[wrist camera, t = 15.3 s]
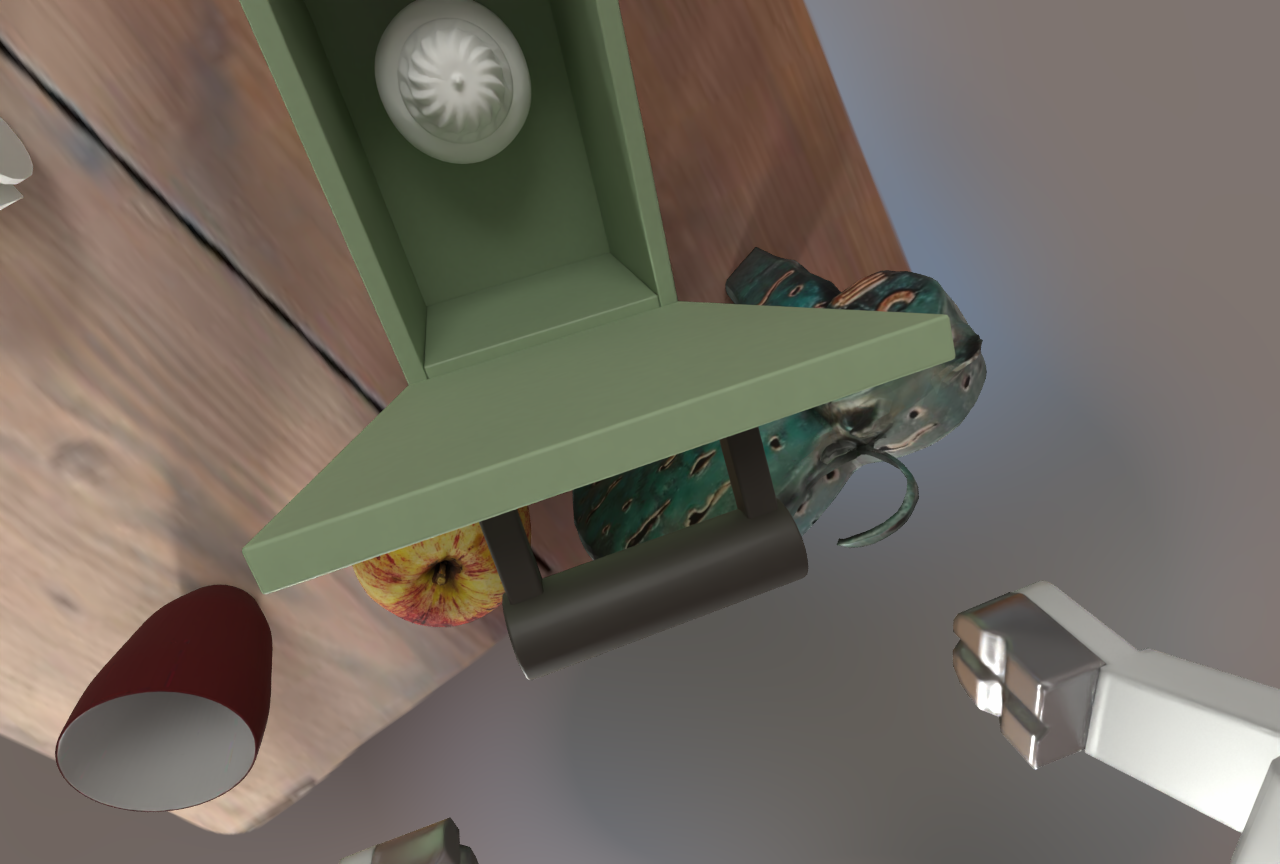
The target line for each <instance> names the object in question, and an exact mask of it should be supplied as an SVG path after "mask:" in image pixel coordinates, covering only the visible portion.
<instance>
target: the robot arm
mask: <svg viewBox="0 0 1280 864" xmlns="http://www.w3.org/2000/svg"><path fill="white" fill-rule="evenodd" d="M953 632H954V633H955V634H956V635H957V636H958V637H959V638H960V641H959V642H958V644H957V645H956V647H955V648H954V650H953V667H954V669H955V672H956V674H957V677H958V679H959V682H960V684H961V685H962V687H963V688H964V690H965V691H966V693H967V694H968V696H969V697H970V698H971V699H972V700H973V702H974V703H975V704H976V705H977V706H978V707H979V708H980V709H982V710H985V711H987V712H989V713H991V714H994V715H996V716H999V721H1000V729H1001V733H1002V734H1003V735H1004V736H1005V737H1006V739H1007V740H1008V741H1009V742H1010V743H1011V744H1012V745H1013V746H1014V747H1015V748H1016V750H1017V751H1018V752H1019V753H1020V754H1021V755H1022V756H1023V757H1024V759H1025V760H1026V761H1027V762H1028V763H1029V764H1030V765H1031V766H1032V767H1033V768H1034V769H1036V768H1039V767H1041V766H1044V765H1046V764H1049V763H1051V762H1054V761H1056V760H1058V759H1061V758H1064V757H1066V756H1068V755H1071V754H1073V753H1076V752H1078V751H1081V750H1083V749H1085V753H1087V754H1089V755H1091V756H1093V757H1095V758H1097V759H1099V760H1101V761H1103V762H1105V763H1107V764H1109V765H1110V766H1112V767H1114V768H1116V769H1118V770H1120V771H1122V772H1124V773H1126V774H1128V775H1130V776H1132V777H1134V778H1136V779H1138V780H1140V781H1142V782H1144V783H1146V784H1148V785H1149V786H1151V787H1153V788H1155V789H1157V790H1159V791H1161V792H1163V793H1165V794H1167V795H1169V796H1171V797H1173V798H1175V799H1177V800H1179V801H1180V802H1183V803H1184V804H1186V805H1188V806H1190V807H1192V808H1194V809H1196V810H1198V811H1200V812H1202V813H1204V814H1206V815H1208V816H1210V817H1212V818H1214V819H1216V820H1218V821H1219V822H1222V823H1223V824H1225V825H1227V826H1229V827H1231V828H1233V829H1235V830H1237V831H1239V832H1241V833H1242V834H1241V837H1240V839H1239V841H1238V844H1237V846H1236V849H1235V852H1234V854H1233V856H1232V858H1231V864H1280V689H1277V688H1274V687H1271V686H1267V685H1265V684H1261V683H1258V682H1255V681H1252V680H1249V679H1245V678H1242V677H1239V676H1236V675H1232V674H1229V673H1226V672H1223V671H1220V670H1217V669H1214V668H1210V667H1207V666H1204V665H1201V664H1198V663H1194V662H1191V661H1188V660H1185V659H1182V658H1178V657H1175V656H1172V655H1169V654H1166V653H1163V652H1159V651H1156V650H1153V649H1150V648H1146V649H1143V650H1141V651H1138V650H1137V649H1136V648H1134V647H1133V646H1132V645H1131V644H1129V643H1128V642H1127V641H1126V640H1124V639H1123V638H1122V637H1120V636H1119V635H1118V634H1117V633H1115V632H1114V631H1112V630H1111V629H1110V628H1109V627H1107V626H1106V625H1105V624H1103V623H1102V622H1101V621H1100V620H1098V619H1097V618H1096V617H1095V616H1093V615H1092V614H1090V613H1089V612H1088V611H1087V610H1085V609H1084V608H1083V607H1082V606H1080V605H1079V604H1077V603H1076V602H1075V601H1074V600H1073V599H1071V598H1070V597H1069V596H1067V595H1066V594H1065V593H1063V592H1062V591H1061V590H1060V589H1058V588H1057V587H1056V586H1054V585H1053V584H1052V583H1049V582H1046V581H1039V582H1035V583H1033V584H1031V585H1028V586H1026V587H1024V588H1022V589H1019V590H1017V591H1014V592H1009V593H1006V594H1004V595H1002V596H999V597H997V598H994V599H992V600H990V601H987V602H985V603H982V604H980V605H978V606H976V607H973V608H971V609H968V610H966V611H964V612H961V613H959V614H958V615H957V616H956V617H955V619H954V623H953ZM339 864H478V861H477V859H476V856H475V855H474V853H473V851H472V850H471V848H470V847H468V846H464V845H460V841H459V829H458V827H457V826H456V825H455V823H454V822H453V820H452V819H451V818H447V819H445V820H442V821H439V822H437V823H434V824H431V825H429V826H426V827H423V828H421V829H418V830H416V831H413V832H410V833H408V834H405V835H402V836H400V837H397V838H394V839H392V840H389V841H386V842H384V843H381V844H378V845H375V846H373V847H370V848H368V849H365V850H363V851H360V852H357V853H355V854H352V855H350V856H347V857H345V858H342V859H341V860H340V862H339Z"/></svg>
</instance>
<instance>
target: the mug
mask: <svg viewBox="0 0 1280 864" xmlns="http://www.w3.org/2000/svg"><path fill="white" fill-rule="evenodd" d="M271 673H272V636H271V631H270V628H269V625H268V623H267V620H266V618H265V616H264V614H263V613H262V611H261V609H260V607H259V606H258V604H257V602H256V601H255V600H254V598H253V597H252V596H250V595H249V594H248V593H247V592H245V591H243V590H241V589H239V588H236V587H233V586H228V585H212V586H206V587H202V588H199V589H197V590H195V591H192V592H190V593H188V594H186V595H184V596H181V597H179V598H177V599H175V600H174V601H172V602H170V603H168V604H167V605H165V606H163V607H162V608H160V609H159V610H158V611H156V612H155V613H154V614H153V615H152V616H150V617H149V618H148V619H147V620H146V621H145V622H144V623H143V624H142V626H141V627H140V628H139V629H138V630H137V631H136V632H135V633H134V634H133V635H132V637H131V638H130V639H129V640H128V641H127V642H126V643H125V644H124V645H123V646H122V648H121V649H120V650H119V651H118V652H117V653H116V654H115V655H114V656H113V657H112V659H111V660H110V661H109V662H108V663H107V664H106V665H105V666H104V667H103V669H102V670H101V671H100V672H99V673H98V674H97V676H96V677H95V678H94V679H93V680H92V682H91V683H90V684H89V686H88V687H87V689H86V690H85V692H84V693H83V695H82V696H81V698H80V700H79V701H78V703H77V705H76V706H75V708H74V710H73V712H72V713H71V715H70V717H69V719H68V721H67V722H66V724H65V726H64V728H63V730H62V732H61V734H60V736H59V738H58V741H57V745H56V751H55V757H56V763H57V766H58V769H59V771H60V773H61V774H62V776H63V778H64V779H65V780H66V781H67V782H68V783H69V784H70V785H71V786H72V787H73V788H74V789H75V790H77V791H78V792H79V793H81V794H83V795H84V796H86V797H88V798H90V799H92V800H94V801H96V802H99V803H101V804H104V805H107V806H111V807H115V808H119V809H125V810H131V811H142V812H161V811H172V810H179V809H184V808H189V807H193V806H196V805H200V804H202V803H205V802H208V801H210V800H213V799H215V798H217V797H219V796H221V795H223V794H225V793H226V792H228V791H230V790H231V789H232V788H234V787H235V786H236V785H238V784H239V783H240V782H241V781H242V780H243V779H244V778H245V777H246V776H247V774H248V773H249V772H250V770H251V768H252V767H253V765H254V762H255V760H256V758H257V754H258V751H259V748H260V745H261V742H262V738H263V735H264V731H265V728H266V724H267V720H268V715H269V708H270V698H271Z"/></svg>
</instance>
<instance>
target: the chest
mask: <svg viewBox="0 0 1280 864" xmlns="http://www.w3.org/2000/svg"><path fill="white" fill-rule="evenodd" d="M239 1H240V3H241V6H242V8H243V10H244V12H245V15H246V17H247V19H248V21H249V24H250V26H251V28H252V30H253V33H254V35H255V37H256V40H257V42H258V44H259V46H260V49H261V51H262V53H263V55H264V58H265V60H266V62H267V64H268V67H269V69H270V71H271V74H272V76H273V78H274V80H275V83H276V85H277V87H278V89H279V92H280V94H281V96H282V99H283V101H284V103H285V105H286V108H287V110H288V112H289V114H290V117H291V119H292V121H293V123H294V126H295V128H296V130H297V133H298V135H299V137H300V139H301V142H302V144H303V146H304V148H305V151H306V153H307V155H308V157H309V160H310V162H311V164H312V167H313V169H314V171H315V173H316V176H317V178H318V180H319V182H320V185H321V187H322V189H323V192H324V194H325V196H326V198H327V201H328V203H329V205H330V207H331V210H332V212H333V214H334V216H335V219H336V221H337V223H338V226H339V228H340V230H341V232H342V235H343V237H344V239H345V241H346V244H347V246H348V248H349V251H350V253H351V255H352V257H353V260H354V262H355V264H356V266H357V269H358V271H359V273H360V275H361V278H362V280H363V282H364V285H365V287H366V289H367V291H368V294H369V296H370V298H371V300H372V303H373V305H374V307H375V309H376V312H377V314H378V316H379V319H380V321H381V323H382V325H383V328H384V330H385V332H386V334H387V337H388V339H389V341H390V344H391V346H392V348H393V350H394V353H395V355H396V357H397V359H398V362H399V364H400V366H401V368H402V371H403V373H404V375H405V378H406V380H407V382H408V384H409V385H412V384H415V383H418V382H421V381H425V380H428V379H431V378H434V377H438V376H441V375H444V374H447V373H450V372H454V371H457V370H460V369H463V368H467V367H470V366H473V365H476V364H479V363H483V362H486V361H489V360H492V359H495V358H499V357H502V356H505V355H508V354H512V353H515V352H518V351H521V350H524V349H528V348H531V347H534V346H537V345H541V344H544V343H547V342H550V341H553V340H557V339H560V338H563V337H566V336H570V335H573V334H576V333H579V332H582V331H586V330H589V329H592V328H595V327H599V326H602V325H605V324H608V323H611V322H615V321H618V320H621V319H624V318H628V317H631V316H634V315H637V314H640V313H644V312H647V311H650V310H653V309H657V308H660V307H663V306H666V305H669V304H673V303H676V302H678V299H677V294H676V289H675V284H674V279H673V274H672V269H671V264H670V259H669V254H668V249H667V244H666V239H665V234H664V229H663V224H662V219H661V214H660V209H659V204H658V199H657V194H656V189H655V184H654V179H653V174H652V169H651V164H650V159H649V154H648V148H647V143H646V138H645V133H644V128H643V123H642V118H641V113H640V108H639V103H638V98H637V93H636V88H635V83H634V78H633V73H632V68H631V63H630V58H629V53H628V48H627V43H626V38H625V33H624V28H623V23H622V18H621V13H620V8H619V3H618V0H473V1H475V2H477V3H479V4H481V5H483V6H484V7H486V8H487V9H489V10H490V11H492V12H493V13H494V14H495V15H497V16H498V17H499V18H500V19H501V20H502V21H503V22H504V23H505V24H506V26H507V27H508V28H509V29H510V31H511V32H512V34H513V35H514V37H515V38H516V40H517V42H518V44H519V46H520V48H521V50H522V52H523V55H524V57H525V60H526V63H527V67H528V70H529V74H530V80H531V104H530V109H529V113H528V116H527V118H526V121H525V123H524V125H523V127H522V128H521V130H520V131H519V133H518V134H517V136H516V137H515V138H514V139H513V141H512V142H511V143H510V144H509V145H508V146H507V147H506V148H505V149H503V150H502V151H501V152H499V153H498V154H496V155H495V156H493V157H491V158H489V159H487V160H484V161H481V162H476V163H470V164H455V163H449V162H444V161H441V160H438V159H436V158H433V157H431V156H428V155H427V154H425V153H423V152H421V151H420V150H418V149H417V148H415V147H414V146H413V145H412V144H411V143H409V142H408V141H407V140H406V139H405V138H404V137H403V136H402V135H401V133H400V132H399V131H398V130H397V128H396V127H395V125H394V124H393V123H392V121H391V119H390V118H389V116H388V114H387V112H386V110H385V108H384V105H383V103H382V101H381V98H380V95H379V92H378V89H377V85H376V79H375V55H376V50H377V46H378V44H379V41H380V39H381V36H382V34H383V33H384V31H385V29H386V28H387V26H388V25H389V23H390V22H391V21H392V19H393V18H394V17H395V16H396V15H397V14H398V13H399V12H400V11H401V10H402V9H403V8H405V7H406V6H407V5H409V4H410V3H412V2H414V1H416V0H239Z"/></svg>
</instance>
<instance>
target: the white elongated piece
mask: <svg viewBox="0 0 1280 864" xmlns="http://www.w3.org/2000/svg"><path fill="white" fill-rule="evenodd" d="M32 171H33V164H32V161H31V158H30V155H29V153H28V151H27V150H26V148H25V146H24V145H23V143H22V142H21V140H20V139H19V137H18V136H17V135H16V134H15V133H14V131H13V130H12V129H11V128H10V126H9V125H8V124H7V123H6V122H5V121H4V120H3V119H2V118H1V117H0V210H1V209H3V208H5V207H7V206H9V205H10V204H12V203H14V202H16V201H18V200H19V199H21V198H23V197H24V196H23V195H22V194H21V193H20V192H19V191H18V190H17V189H16V188H15V187H14V186H13V185H16V184H18V183H20V182H22V181H23V180H25V179H27V178H28V177H30V176H31V175H32Z"/></svg>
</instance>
